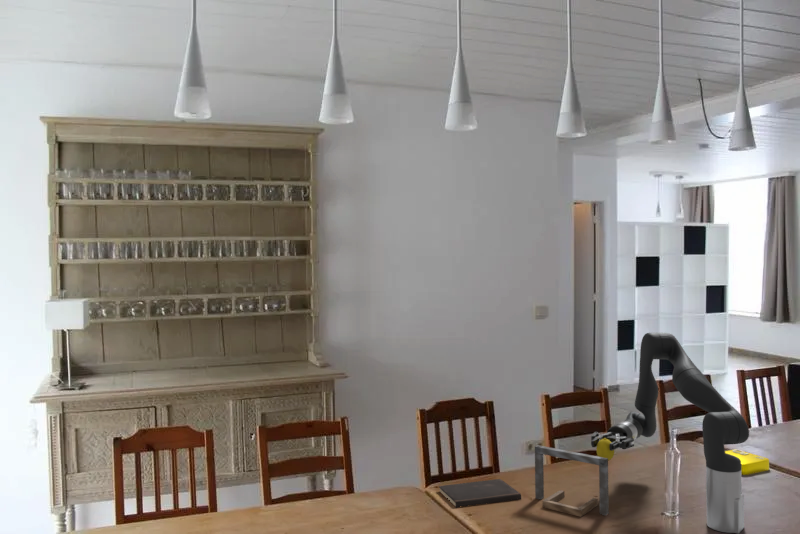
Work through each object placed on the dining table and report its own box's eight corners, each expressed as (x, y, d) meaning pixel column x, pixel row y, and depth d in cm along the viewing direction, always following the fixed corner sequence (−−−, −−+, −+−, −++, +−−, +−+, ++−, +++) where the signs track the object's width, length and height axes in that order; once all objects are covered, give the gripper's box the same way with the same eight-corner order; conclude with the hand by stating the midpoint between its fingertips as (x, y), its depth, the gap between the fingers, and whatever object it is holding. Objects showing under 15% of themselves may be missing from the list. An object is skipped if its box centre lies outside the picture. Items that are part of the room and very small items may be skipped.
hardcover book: (438, 492, 222) (438, 485, 222) (500, 485, 228) (500, 478, 228) (455, 509, 206) (455, 502, 206) (521, 501, 213) (521, 494, 213)
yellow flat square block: (708, 465, 247) (708, 452, 247) (735, 459, 253) (735, 447, 253) (743, 476, 233) (743, 463, 233) (771, 470, 240) (771, 457, 240)
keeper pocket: (614, 509, 203) (614, 454, 203) (598, 521, 194) (597, 464, 194) (545, 492, 219) (544, 442, 219) (527, 503, 210) (526, 450, 209)
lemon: (615, 465, 210) (614, 440, 209) (597, 464, 211) (596, 440, 211) (613, 460, 215) (612, 435, 215) (596, 459, 216) (595, 435, 216)
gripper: (602, 420, 228) (580, 430, 215) (643, 426, 219) (623, 438, 206) (602, 441, 228) (581, 453, 216) (643, 448, 219) (623, 461, 206)
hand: (601, 445), depth 211 cm, fingers closed on lemon, 5 cm apart
